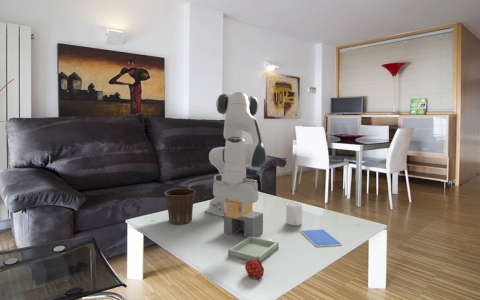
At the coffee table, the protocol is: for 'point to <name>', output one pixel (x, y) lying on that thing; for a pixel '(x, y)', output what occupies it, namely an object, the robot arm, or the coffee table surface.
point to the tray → (253, 249)
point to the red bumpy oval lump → (254, 268)
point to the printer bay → (245, 224)
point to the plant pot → (180, 205)
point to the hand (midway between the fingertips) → (235, 210)
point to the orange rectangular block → (237, 208)
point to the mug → (294, 213)
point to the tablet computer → (320, 238)
